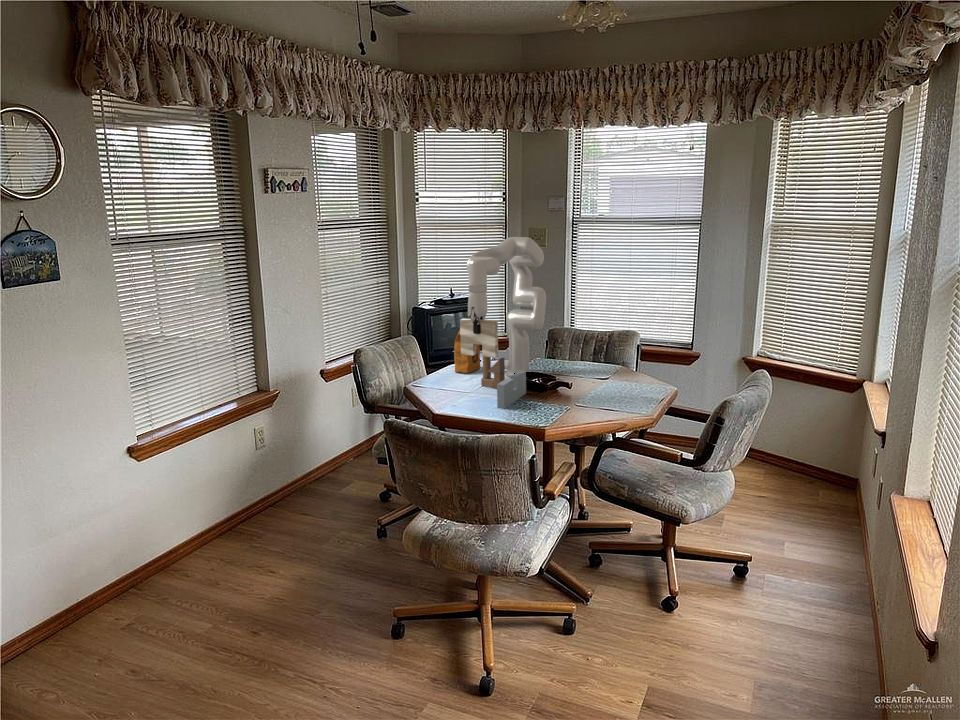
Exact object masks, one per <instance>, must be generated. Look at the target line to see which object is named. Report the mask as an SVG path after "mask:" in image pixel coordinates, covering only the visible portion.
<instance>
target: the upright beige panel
mask: <svg viewBox="0 0 960 720" xmlns="http://www.w3.org/2000/svg"><path fill="white" fill-rule="evenodd" d="M498 323H499V321H498V320H492V319H491V320H490V319H485V320H480V325H481V334H474V333H473V322H472V321H471V319H470V318H460V319H459V330H460V339H461V354H462V355H473V356H474V355H475V354H476V344H479V346H480V345H481V347H482V348H481V349H482V350H481V351H482V355H481V357H483V356H484V357H491V358H498V356H499V324H498Z"/></svg>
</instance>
